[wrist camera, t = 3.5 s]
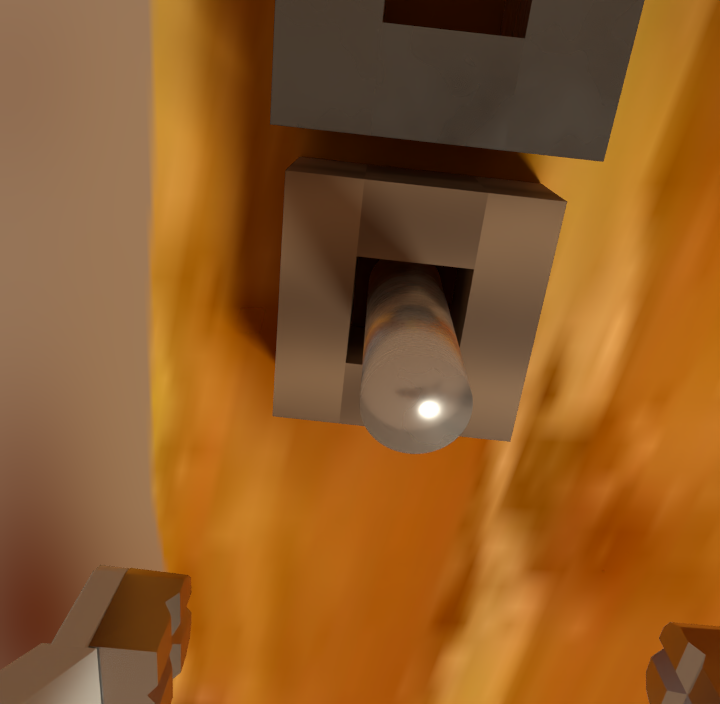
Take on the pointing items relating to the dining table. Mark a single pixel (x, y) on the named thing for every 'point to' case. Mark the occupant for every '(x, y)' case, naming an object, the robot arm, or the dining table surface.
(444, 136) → the grey square-hole block
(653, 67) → the dining table surface
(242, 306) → the dining table surface
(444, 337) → the steel peg
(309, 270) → the socket block
